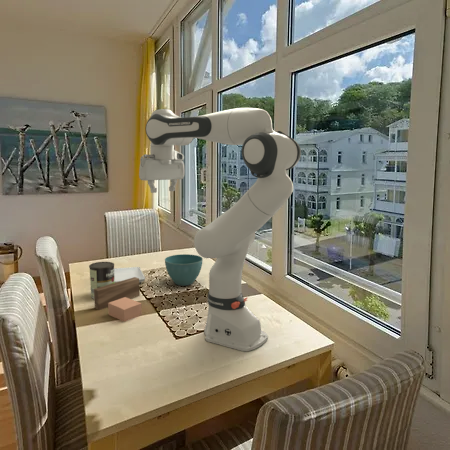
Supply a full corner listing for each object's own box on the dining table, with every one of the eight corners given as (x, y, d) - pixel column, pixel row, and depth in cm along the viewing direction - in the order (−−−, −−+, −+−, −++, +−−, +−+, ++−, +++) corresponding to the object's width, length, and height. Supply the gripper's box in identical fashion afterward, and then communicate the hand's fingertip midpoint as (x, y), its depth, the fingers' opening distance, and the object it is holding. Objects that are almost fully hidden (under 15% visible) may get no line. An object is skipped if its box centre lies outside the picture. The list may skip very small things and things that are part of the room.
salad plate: (146, 284, 173) (146, 278, 173) (99, 289, 165) (99, 282, 165) (139, 272, 193) (139, 266, 192) (97, 276, 185) (97, 269, 184)
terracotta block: (141, 315, 139) (141, 303, 138) (124, 322, 132) (124, 309, 132) (125, 308, 145) (125, 297, 144) (108, 315, 138) (108, 302, 138)
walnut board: (139, 295, 158) (139, 278, 156) (99, 309, 142) (98, 290, 141) (135, 294, 160) (134, 277, 158) (94, 307, 144) (93, 289, 143)
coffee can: (119, 292, 162) (118, 262, 159) (107, 300, 152) (106, 268, 149) (98, 290, 164) (97, 260, 161) (85, 298, 154) (84, 267, 151)
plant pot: (158, 286, 170) (157, 261, 168) (175, 275, 187) (175, 252, 185) (193, 291, 164) (193, 265, 162) (207, 279, 181) (208, 256, 179)
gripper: (146, 154, 124) (147, 194, 126) (187, 155, 140) (187, 190, 142) (134, 154, 128) (135, 193, 130) (175, 155, 144) (175, 190, 146)
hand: (163, 191), depth 136 cm, fingers open, 8 cm apart
